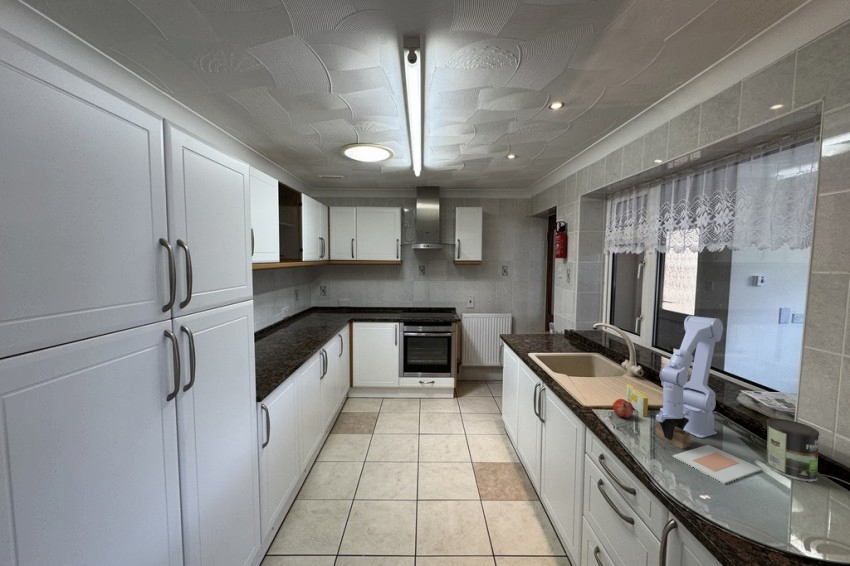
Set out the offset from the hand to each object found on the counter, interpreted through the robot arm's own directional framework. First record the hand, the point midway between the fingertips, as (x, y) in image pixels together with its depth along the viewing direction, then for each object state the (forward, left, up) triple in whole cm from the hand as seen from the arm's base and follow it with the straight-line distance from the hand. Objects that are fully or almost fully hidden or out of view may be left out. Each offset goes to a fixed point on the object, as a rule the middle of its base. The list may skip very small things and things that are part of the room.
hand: (672, 437), depth 112 cm
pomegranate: (-1, -20, -2) cm, 21 cm away
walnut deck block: (0, 0, -1) cm, 1 cm away
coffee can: (-16, +24, -2) cm, 28 cm away
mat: (+1, +14, -1) cm, 14 cm away
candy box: (-13, -23, -2) cm, 27 cm away
